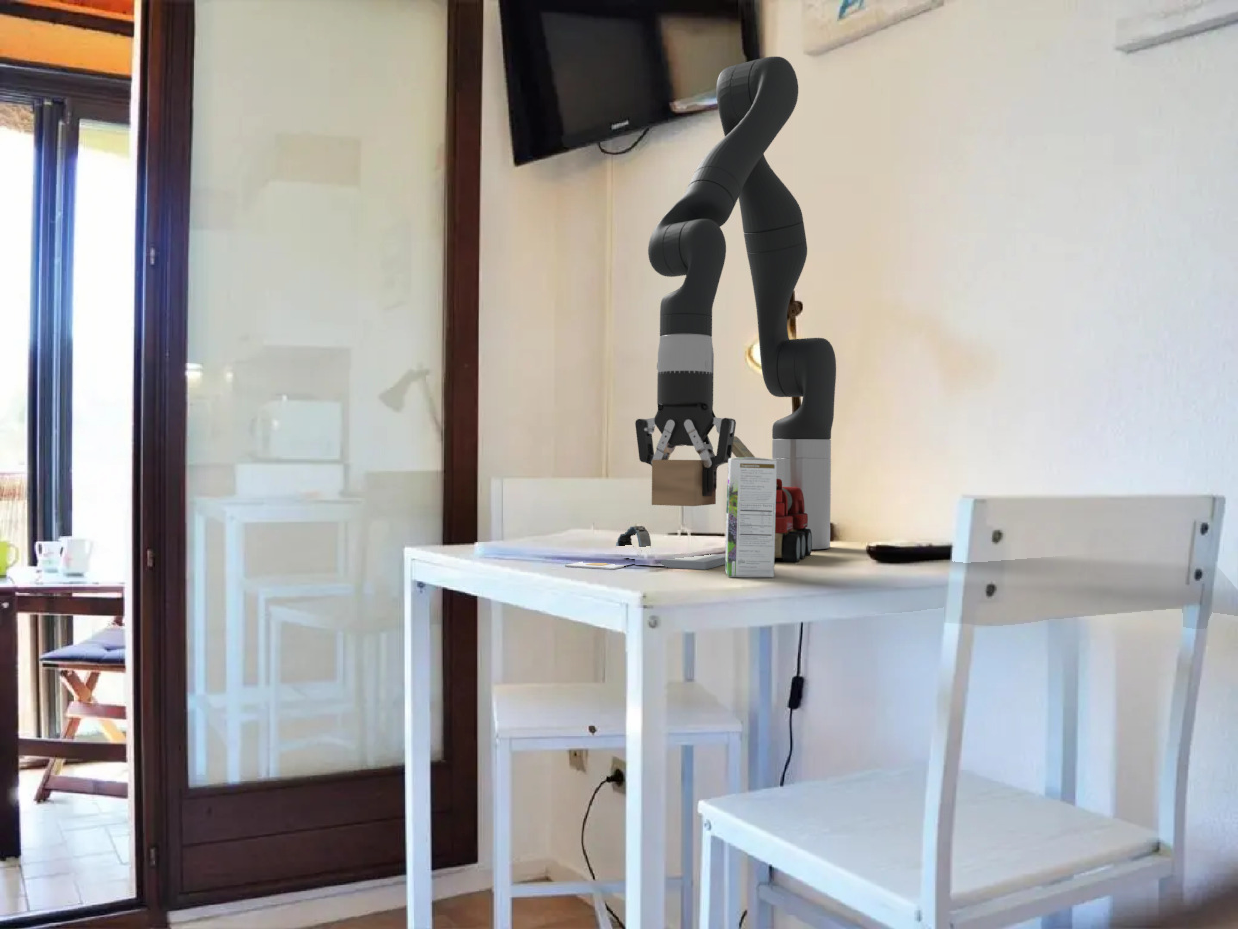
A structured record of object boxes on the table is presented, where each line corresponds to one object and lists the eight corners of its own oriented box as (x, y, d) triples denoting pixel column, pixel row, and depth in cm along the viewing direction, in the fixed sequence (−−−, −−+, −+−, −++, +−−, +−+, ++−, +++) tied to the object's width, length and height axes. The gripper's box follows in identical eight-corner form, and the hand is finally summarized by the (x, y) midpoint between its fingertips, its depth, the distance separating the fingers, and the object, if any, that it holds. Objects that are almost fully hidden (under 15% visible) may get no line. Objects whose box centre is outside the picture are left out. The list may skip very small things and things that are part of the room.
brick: (675, 502, 146) (675, 459, 145) (715, 504, 143) (716, 460, 143) (651, 504, 138) (652, 459, 138) (693, 506, 136) (694, 460, 136)
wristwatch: (643, 568, 148) (626, 541, 151) (658, 546, 145) (641, 518, 147) (626, 572, 147) (609, 544, 149) (640, 550, 143) (623, 521, 146)
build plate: (664, 559, 147) (664, 551, 147) (731, 562, 143) (731, 555, 143) (634, 565, 138) (634, 557, 138) (705, 569, 134) (705, 561, 134)
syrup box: (724, 572, 131) (725, 456, 131) (771, 573, 131) (772, 457, 131) (727, 577, 126) (728, 457, 125) (776, 578, 125) (777, 457, 125)
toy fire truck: (813, 554, 157) (814, 437, 157) (795, 565, 142) (796, 435, 142) (739, 552, 161) (740, 437, 161) (713, 561, 146) (714, 435, 146)
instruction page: (596, 560, 145) (596, 558, 145) (642, 563, 142) (642, 561, 142) (564, 566, 137) (564, 564, 137) (612, 569, 134) (612, 567, 134)
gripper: (745, 371, 141) (744, 496, 141) (648, 374, 147) (646, 493, 147) (726, 366, 134) (725, 498, 134) (625, 369, 140) (623, 495, 140)
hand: (684, 495), depth 141 cm, fingers closed on brick, 6 cm apart
